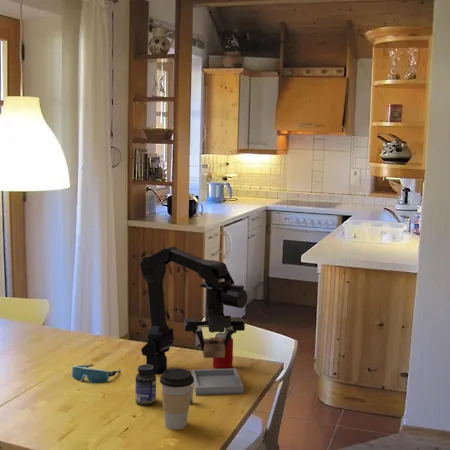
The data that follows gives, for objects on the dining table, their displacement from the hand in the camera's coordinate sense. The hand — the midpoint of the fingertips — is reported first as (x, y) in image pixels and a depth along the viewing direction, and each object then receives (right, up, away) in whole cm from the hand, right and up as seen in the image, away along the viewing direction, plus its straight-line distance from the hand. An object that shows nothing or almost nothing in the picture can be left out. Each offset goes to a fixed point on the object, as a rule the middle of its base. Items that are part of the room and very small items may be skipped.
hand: (213, 350), depth 204 cm
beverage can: (+3, -10, +18) cm, 21 cm away
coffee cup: (-10, -16, -25) cm, 31 cm away
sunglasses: (-39, -11, +10) cm, 42 cm away
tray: (+1, -12, +4) cm, 13 cm away
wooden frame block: (0, -1, 0) cm, 1 cm away
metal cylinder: (-7, -14, -10) cm, 19 cm away
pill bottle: (-20, -14, -10) cm, 26 cm away
